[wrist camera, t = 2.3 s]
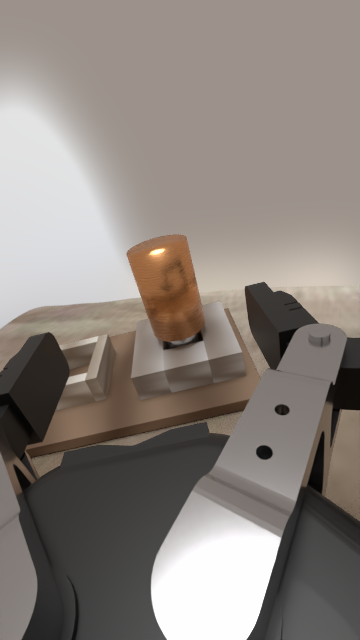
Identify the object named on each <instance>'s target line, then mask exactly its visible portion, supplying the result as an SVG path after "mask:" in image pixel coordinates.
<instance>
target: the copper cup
mask: <svg viewBox="0 0 360 640" xmlns="http://www.w3.org/2000/svg"><path fill="white" fill-rule="evenodd" d="M127 257H128V260H129V263H130V266H131V269H132V272H133V275H134V277H135V280H136V283H137V286H138V289H139V292H140V295H141V298H142V301H143V304H144V307H145V310H146V313H147V316H148V319H149V321H150V324H151V327H152V330H153V333H154V336H155V337H156V338H158V339H159V340H162V341H168V344H169V347H170V349H171V348H175V347H179V346H183V345H188V344H192V343H196V342H199V339H198V335H197V333H198V332H199V331H200V330H201V329H202V328H203V327H204V325H205V317H204V313H203V308H202V304H201V299H200V295H199V291H198V287H197V282H196V278H195V273H194V269H193V264H192V260H191V256H190V251H189V247H188V242H187V238H186V236H184V235H167V236H162V237H157V238H153V239H150V240H147V241H144V242H142V243H140V244H138V245H136V246H134V247H132V248H131V249H130V250H128V252H127Z"/></svg>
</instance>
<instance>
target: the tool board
mask: <svg viewBox="0 0 360 640" xmlns="http://www.w3.org/2000/svg"><path fill="white" fill-rule="evenodd" d="M202 308H203V313H204V317H205V325H204V327H203V328H202V329H201V330H200V331H199V332H198V333H197V335H198V339H199V342H196V343H192V344H188V345H183V346H179V347H175V348H171V349H170V347H169V344H168V341H162V340H159V339H158V338H156V337H155V336H154V333H153V330H152V327H151V324H150V321H149V319H145V320H141V321H137V328H136V331H133V332H129V333H124V334H120V335H116V336H112V337H109V336H108V334H105V335H101V336H97V337H93V338H89V339H85V340H81V341H77V342H73V343H69V344H64V345H60V346H59V347H60V349H61V350H62V352H63V354H64V356H65V358H66V360H67V362H68V365H69V370H70V374H69V378H68V380H67V383H66V385H65V388H64V390H63V393H62V395H61V398H60V400H59V403H58V405H57V408H56V410H55V413H54V415H53V418H52V420H51V423H50V425H49V428H48V430H47V433H46V435H45V438H44V440H43V442H40V443H36V444H31V445H27V447H26V449H25V451H26V452H27V453H28V455H29V456H30V458H31V457H36V456H40V455H45V454H49V453H54V452H58V451H63V450H67V449H72V448H76V447H80V446H85V445H89V444H94V443H98V442H103V441H107V440H112V439H116V438H121V437H125V436H130V435H134V434H138V433H143V432H147V431H152V430H156V429H161V428H165V427H170V426H174V425H179V424H183V423H188V422H192V421H196V420H201V419H205V418H210V417H214V416H219V415H223V414H228V413H232V412H237V411H241V410H244V409H245V407H246V406H247V404H248V402H249V400H250V398H251V396H252V394H253V393H254V391H255V389H256V387H257V385H258V383H259V381H260V379H261V378H260V376H259V374H258V372H257V370H256V368H255V365H254V363H253V361H252V359H251V357H250V355H249V353H248V350H247V348H246V346H245V344H244V342H243V340H242V337H241V335H240V333H239V331H238V329H237V327H236V324H235V322H234V320H233V318H232V316H231V314H230V312H229V309H228V308H227V309H223V307H222V304H221V302H220V301H218V302H214V303H210V304H206V305H202Z"/></svg>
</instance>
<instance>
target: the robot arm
mask: <svg viewBox="0 0 360 640" xmlns="http://www.w3.org/2000/svg"><path fill="white" fill-rule="evenodd" d="M245 297H246V305H247V312H248V320H249V326H250V329H251V332H252V335H253V337H254V339H255V340H256V342H257V344H258V346H259V348H260V350H261V352H262V353H263V355H264V357H265V359H266V361H267V363H268V365H269V366H270V368H271V369H270V368H268V369H267V370H266V371H265V372H264V374H263V376H262V378H261V379H260V381H259V383H258V385H257V387H256V389H255V391H254V393H253V394H252V396H251V398H250V400H249V402H248V404H247V406H246V407H245V409H244V411H243V413H242V415H241V417H240V419H239V421H238V422H237V424H236V426H235V428H234V430H233V432H232V434H231V436H228V435H224V434H216V433H209V429H208V426H207V422H204V423H199V424H194V425H190V426H185V427H180V428H176V429H171V430H169V431H167V432H164V433H162V434H160V435H157V436H155V437H153V438H151V439H148V440H146V441H144V442H142V443H139V444H137V445H133V446H119V445H96V446H92V447H87V448H82V449H78V450H73V451H68V452H64V456H63V459H62V462H61V465H60V466H59V467H57V468H55V469H53V470H51V471H49V472H48V473H46V474H45V475H43V476H42V477H40V478H39V475H38V473H37V471H36V469H35V467H34V465H33V463H32V460H31V458H30V456H29V455H28V453H27V452H26V451H25V449H26V447H27V445H31V444H36V443H40V442H43V440H44V438H45V435H46V433H47V430H48V428H49V425H50V423H51V420H52V418H53V415H54V413H55V410H56V408H57V405H58V403H59V400H60V398H61V395H62V393H63V390H64V388H65V385H66V383H67V380H68V378H69V374H70V370H69V365H68V362H67V360H66V358H65V356H64V354H63V352H62V350H61V349H60V347H59V345H58V343H57V341H56V339H55V337H54V336H53V335H52V334H51V333H49V332H48V333H44V334H39V335H35V336H31V337H29V338H28V340H27V341H26V343H25V344H24V345H23V347H22V348H21V350H20V351H19V352H18V353H17V354H16V355H15V356H14V357H13V358H11V359H10V360H9V362H8V363H7V364H6V366H5V367H4V368H3V369H4V370H2V371H1V373H0V640H360V521H358V520H357V519H355V518H354V517H353V516H351V515H350V514H348V513H347V512H346V511H344V510H343V509H341V508H340V507H339V506H337V505H336V504H334V503H333V502H331V501H330V500H329V499H327V498H326V497H325V492H326V487H327V482H328V475H329V468H330V461H331V456H332V451H333V447H334V443H335V438H336V434H337V430H338V425H339V421H340V416H341V412H342V409H344V410H360V338H348V337H347V336H346V334H345V332H344V331H342V330H341V329H340V328H338V327H335V326H332V325H328V324H319V323H318V322H317V321H316V320H315V319H314V318H313V317H312V316H311V315H310V314H309V313H308V312H307V311H306V310H305V309H304V308H303V307H302V305H301V304H300V303H298V302H297V300H296V299H295V298H294V297H293V296H292V295H290V294H288V293H285V292H283V291H277V292H273V291H272V290H271V289H270V288H269V287H268V286H267V284H266V283H265V282H262V283H257V284H253V285H249V286H245Z"/></svg>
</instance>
